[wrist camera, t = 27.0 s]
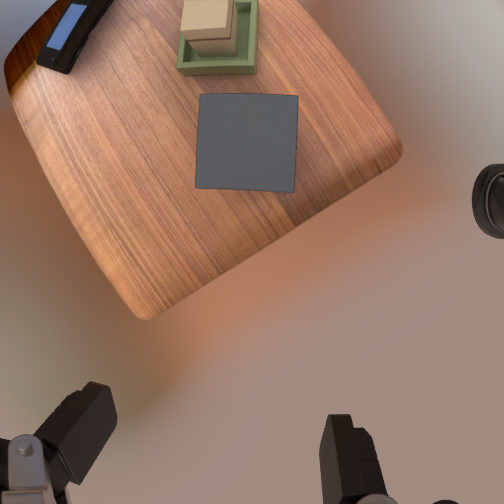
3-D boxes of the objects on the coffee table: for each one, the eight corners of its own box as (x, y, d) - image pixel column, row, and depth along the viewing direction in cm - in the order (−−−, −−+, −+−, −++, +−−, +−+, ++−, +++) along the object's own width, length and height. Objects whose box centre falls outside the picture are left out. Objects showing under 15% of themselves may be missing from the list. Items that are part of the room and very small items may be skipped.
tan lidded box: (240, 19, 34) (230, -15, 25) (237, 56, 35) (226, 27, 27) (203, 21, 34) (185, -11, 26) (199, 58, 36) (179, 31, 27)
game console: (83, -10, 34) (56, -30, 25) (138, -1, 34) (113, -27, 25) (37, 64, 37) (4, 53, 28) (86, 83, 38) (51, 69, 29)
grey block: (291, 125, 37) (298, 95, 23) (288, 187, 39) (294, 193, 25) (228, 122, 38) (199, 93, 23) (225, 184, 40) (194, 188, 25)
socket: (259, 9, 34) (257, -3, 30) (256, 74, 36) (253, 65, 33) (191, 12, 34) (184, 1, 31) (183, 76, 37) (176, 68, 33)
